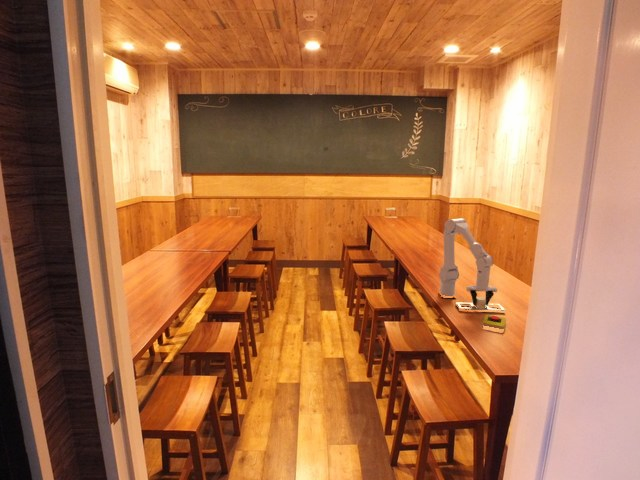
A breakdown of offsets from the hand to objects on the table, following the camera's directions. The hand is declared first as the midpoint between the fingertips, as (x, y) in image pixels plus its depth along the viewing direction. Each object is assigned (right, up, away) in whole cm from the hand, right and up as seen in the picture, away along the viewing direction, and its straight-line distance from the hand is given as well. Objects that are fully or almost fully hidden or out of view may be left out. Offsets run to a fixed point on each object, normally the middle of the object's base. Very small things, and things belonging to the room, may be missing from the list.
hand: (480, 304), depth 201 cm
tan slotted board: (0, -3, +1) cm, 3 cm away
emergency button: (-1, -8, -18) cm, 20 cm away
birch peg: (0, -3, +1) cm, 3 cm away
